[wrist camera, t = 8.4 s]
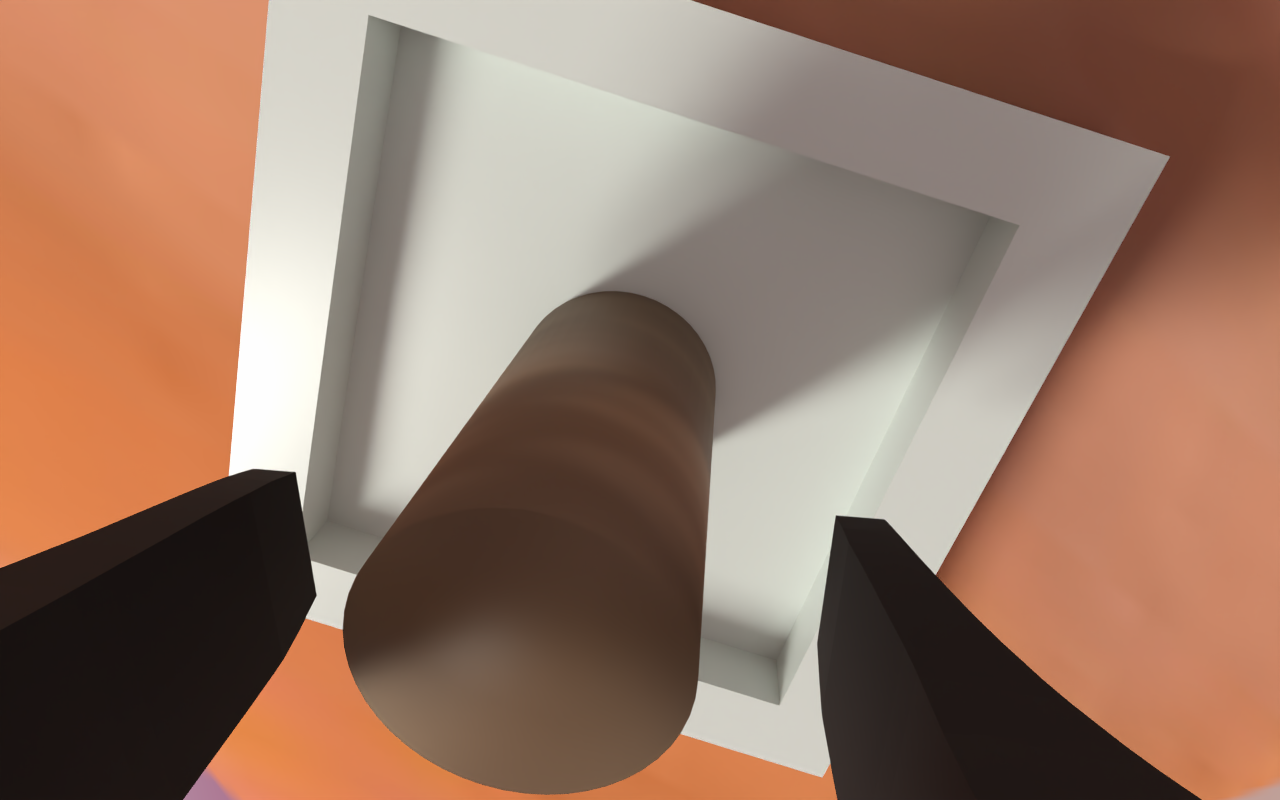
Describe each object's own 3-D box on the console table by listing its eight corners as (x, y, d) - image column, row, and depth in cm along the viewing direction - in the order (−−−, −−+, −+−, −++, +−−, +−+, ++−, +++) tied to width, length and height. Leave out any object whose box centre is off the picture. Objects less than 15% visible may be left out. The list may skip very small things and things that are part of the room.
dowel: (721, 296, 15) (708, 523, 8) (710, 480, 17) (689, 811, 9) (514, 286, 16) (318, 494, 8) (523, 467, 17) (365, 776, 10)
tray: (1113, 142, 14) (1169, 156, 12) (814, 710, 20) (822, 777, 18) (340, -110, 14) (280, -135, 12) (267, 541, 19) (219, 591, 18)
